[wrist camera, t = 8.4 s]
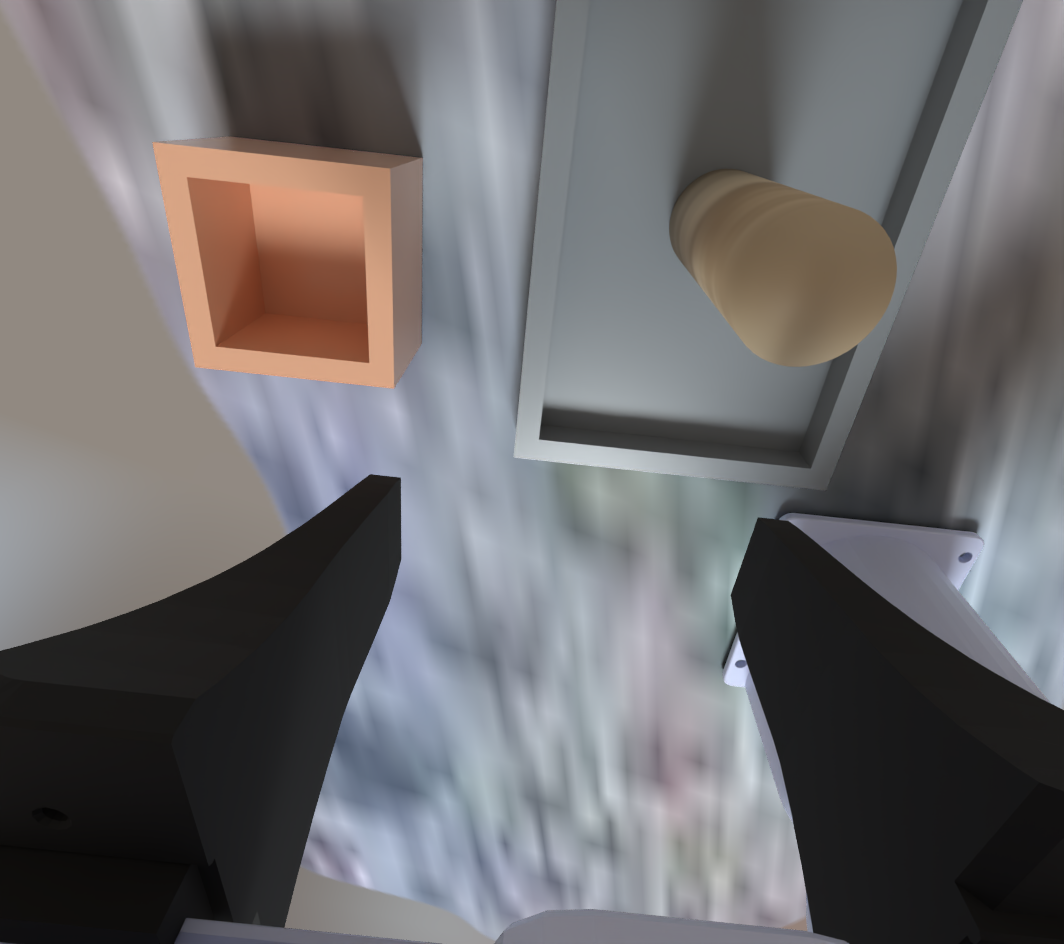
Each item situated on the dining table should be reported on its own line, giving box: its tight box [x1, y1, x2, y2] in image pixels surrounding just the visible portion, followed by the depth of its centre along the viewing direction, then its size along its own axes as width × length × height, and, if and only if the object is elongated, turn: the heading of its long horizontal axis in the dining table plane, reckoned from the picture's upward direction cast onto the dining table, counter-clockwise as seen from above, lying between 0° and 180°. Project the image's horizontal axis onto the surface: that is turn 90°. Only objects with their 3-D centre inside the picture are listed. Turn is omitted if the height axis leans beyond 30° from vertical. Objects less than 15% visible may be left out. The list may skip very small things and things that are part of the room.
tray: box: [514, 0, 1023, 491], centre depth 18 cm, size 16×11×2 cm
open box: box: [152, 136, 423, 388], centre depth 18 cm, size 6×6×4 cm
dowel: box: [669, 169, 897, 367], centre depth 15 cm, size 3×3×8 cm
